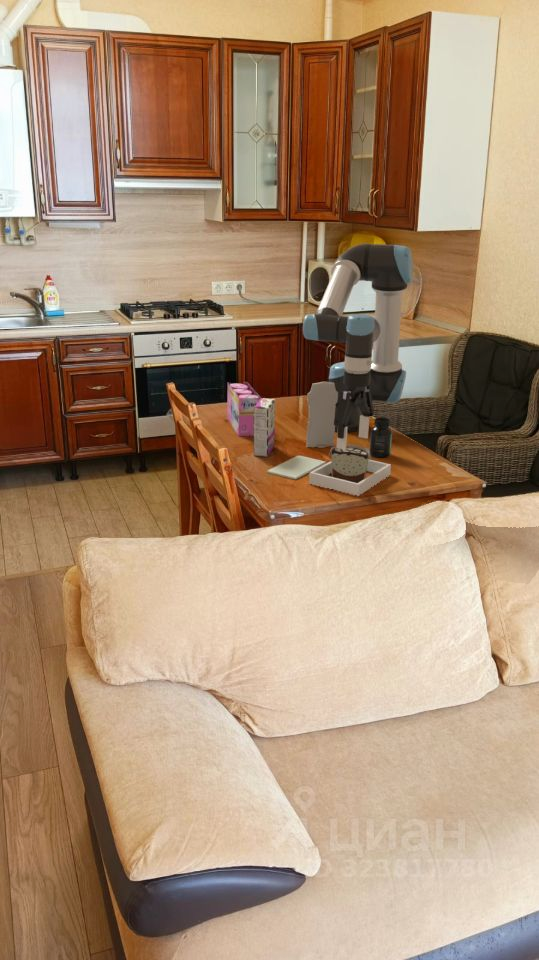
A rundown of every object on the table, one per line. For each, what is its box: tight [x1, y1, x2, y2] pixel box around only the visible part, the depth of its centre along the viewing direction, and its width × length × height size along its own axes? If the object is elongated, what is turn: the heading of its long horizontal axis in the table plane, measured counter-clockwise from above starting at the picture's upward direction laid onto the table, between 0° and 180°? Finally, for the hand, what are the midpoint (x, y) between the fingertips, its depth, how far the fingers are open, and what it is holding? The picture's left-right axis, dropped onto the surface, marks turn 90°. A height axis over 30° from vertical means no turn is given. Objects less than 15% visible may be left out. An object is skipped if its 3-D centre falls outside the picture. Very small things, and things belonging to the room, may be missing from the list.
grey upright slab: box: [306, 381, 338, 449], centre depth 255 cm, size 11×4×22 cm, turn 106°
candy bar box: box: [253, 397, 276, 458], centre depth 250 cm, size 11×5×16 cm, turn 168°
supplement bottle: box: [368, 417, 393, 459], centre depth 250 cm, size 7×7×12 cm
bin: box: [308, 458, 392, 497], centre depth 230 cm, size 21×16×4 cm
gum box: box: [226, 381, 262, 437], centre depth 277 cm, size 24×8×14 cm, turn 13°
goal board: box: [266, 455, 326, 480], centre depth 239 cm, size 18×10×1 cm, turn 146°
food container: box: [328, 444, 372, 483], centre depth 229 cm, size 12×6×10 cm, turn 71°
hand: (352, 443), depth 226 cm, fingers open, 13 cm apart
